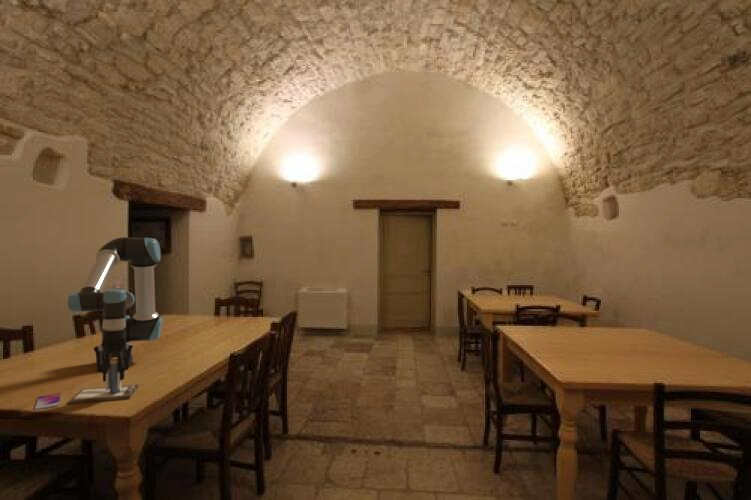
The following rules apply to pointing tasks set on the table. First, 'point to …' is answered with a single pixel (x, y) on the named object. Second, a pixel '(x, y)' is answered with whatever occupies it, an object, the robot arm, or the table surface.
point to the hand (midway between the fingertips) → (113, 388)
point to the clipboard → (102, 394)
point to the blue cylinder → (113, 375)
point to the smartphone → (47, 401)
